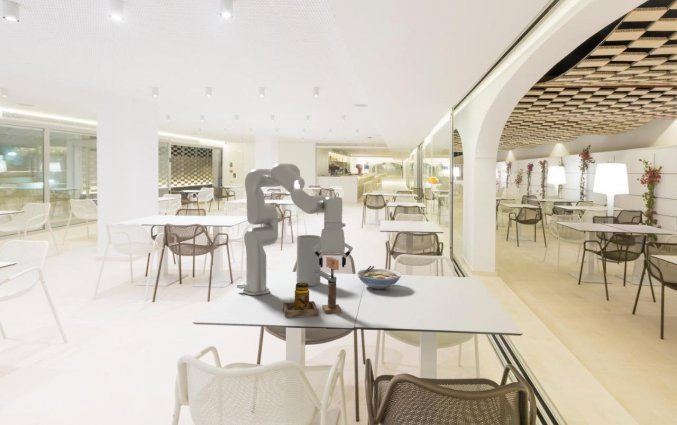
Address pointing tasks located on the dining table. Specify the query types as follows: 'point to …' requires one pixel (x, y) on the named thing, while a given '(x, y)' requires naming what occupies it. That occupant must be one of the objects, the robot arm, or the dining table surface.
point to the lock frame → (329, 308)
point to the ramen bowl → (378, 277)
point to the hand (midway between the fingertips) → (332, 266)
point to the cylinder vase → (308, 259)
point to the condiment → (301, 297)
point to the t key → (333, 265)
